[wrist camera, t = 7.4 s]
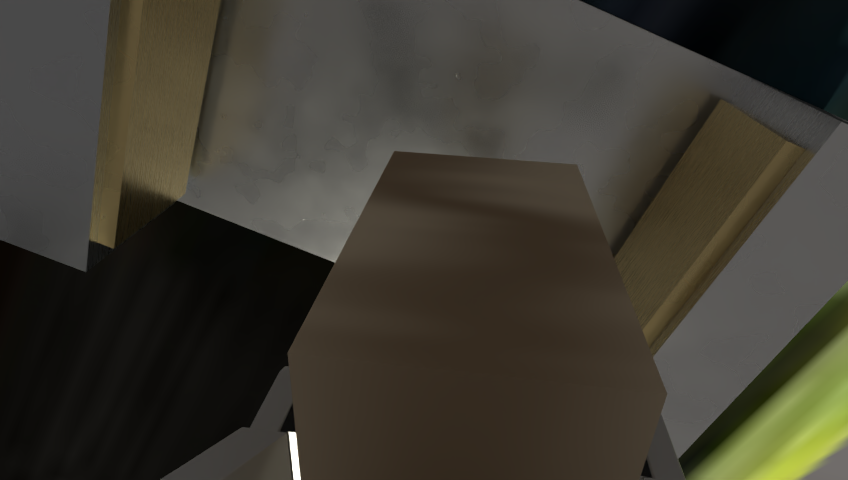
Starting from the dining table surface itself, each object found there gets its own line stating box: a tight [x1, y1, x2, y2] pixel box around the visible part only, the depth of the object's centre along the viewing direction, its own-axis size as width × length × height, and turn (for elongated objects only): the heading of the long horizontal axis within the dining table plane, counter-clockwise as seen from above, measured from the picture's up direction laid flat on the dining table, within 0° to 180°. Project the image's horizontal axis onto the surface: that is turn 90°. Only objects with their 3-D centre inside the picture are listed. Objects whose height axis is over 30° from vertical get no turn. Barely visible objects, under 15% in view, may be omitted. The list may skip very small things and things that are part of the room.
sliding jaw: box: [0, 0, 221, 272], centre depth 18 cm, size 4×14×6 cm, turn 159°
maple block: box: [288, 151, 667, 480], centre depth 11 cm, size 4×8×7 cm, turn 178°
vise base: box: [178, 0, 848, 458], centre depth 20 cm, size 30×14×8 cm, turn 69°
